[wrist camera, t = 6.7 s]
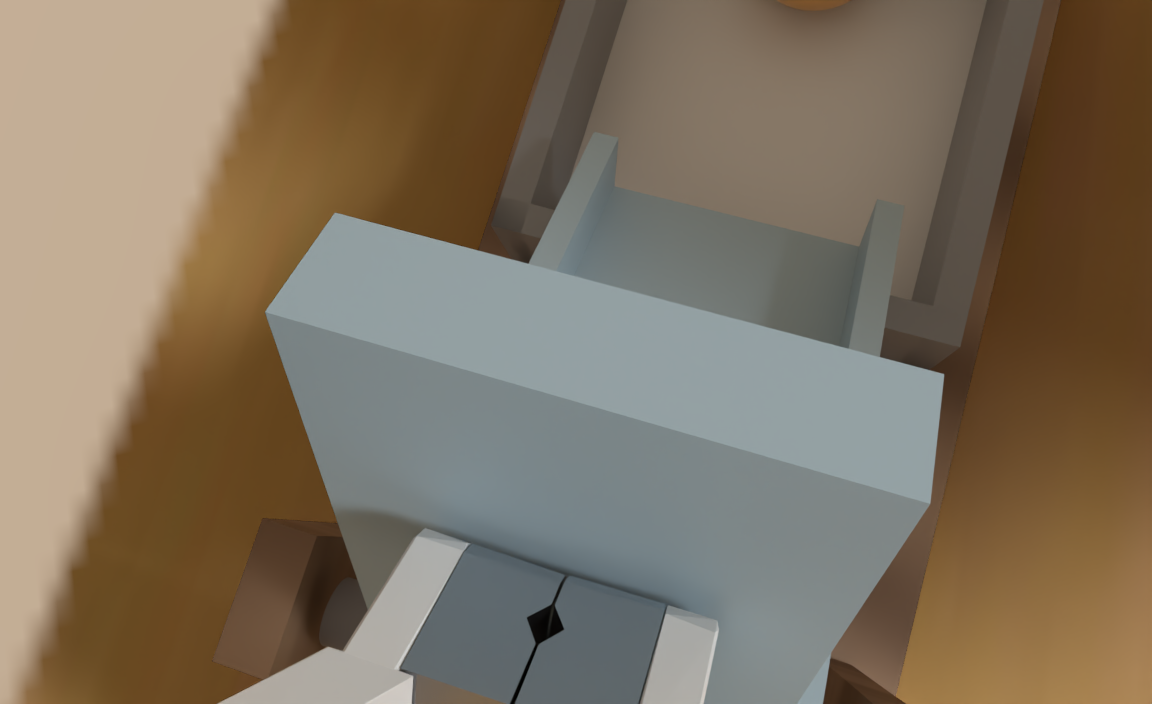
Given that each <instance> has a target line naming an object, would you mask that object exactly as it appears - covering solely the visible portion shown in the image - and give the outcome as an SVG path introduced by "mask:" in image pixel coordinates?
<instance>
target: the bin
mask: <svg viewBox="0 0 1152 704" xmlns="http://www.w3.org/2000/svg"><path fill="white" fill-rule="evenodd" d="M1043 1H1044V0H851V1H849V2H847V3H846V4H843V5H841V6H838V7H835V8H832V9H828V10H821V11H805V10H799V9H795V8H792V7H789V6H786V5H784V4H782V3H780V2H778V1H777V0H565V4H564V7H563V10H562V13H561V16H560V19H559V22H558V25H557V28H556V31H555V34H554V37H553V40H552V43H551V46H550V49H549V52H548V55H547V58H546V61H545V64H544V67H543V70H542V73H541V76H540V79H539V82H538V85H537V88H536V91H535V94H534V97H533V100H532V103H531V106H530V109H529V112H528V115H527V118H526V121H525V124H524V127H523V130H522V133H521V136H520V139H519V142H518V145H517V148H516V151H515V154H514V157H513V160H512V163H511V166H510V169H509V172H508V175H507V178H506V181H505V184H504V187H503V191H502V194H501V197H500V200H499V203H498V206H497V209H496V212H495V215H494V218H493V221H492V224H491V226H492V228H493V230H494V231H495V233H496V234H497V236H498V238H499V239H500V241H501V243H502V244H503V246H504V247H505V249H506V251H507V252H508V254H509V256H510V257H511V259H512V260H516V261H519V262H523V263H527V264H529V262H530V260H531V258H532V256H533V254H534V252H535V250H536V248H537V246H538V244H539V242H540V240H541V238H542V236H543V234H544V231H545V229H546V227H547V225H548V223H549V221H550V219H551V217H552V215H553V213H554V211H555V209H556V207H557V205H558V203H559V201H560V199H561V197H562V195H563V193H564V191H565V189H566V187H567V185H568V183H569V181H570V179H571V177H572V175H573V173H574V171H575V169H576V167H577V165H578V163H579V161H580V159H581V157H582V155H583V153H584V151H585V149H586V147H587V145H588V143H589V141H590V139H591V137H592V135H593V133H594V132H597V133H601V134H605V135H610V136H614V137H618V138H619V139H618V151H617V162H616V174H615V185H614V186H616V187H620V188H624V189H628V190H632V191H636V192H640V193H644V194H648V195H652V196H656V197H660V198H664V199H668V200H672V201H676V202H680V203H684V204H689V205H693V206H697V207H701V208H705V209H709V210H713V211H717V212H721V213H725V214H729V215H733V216H737V217H741V218H745V219H749V220H753V221H757V222H761V223H766V224H770V225H774V226H778V227H782V228H786V229H790V230H794V231H798V232H802V233H806V234H810V235H814V236H818V237H822V238H826V239H830V240H834V241H838V242H843V243H847V244H851V245H855V246H860V243H861V241H862V238H863V235H864V233H865V230H866V227H867V225H868V222H869V220H870V217H871V214H872V212H873V209H874V206H875V204H876V201H877V199H879V200H883V201H887V202H892V203H896V204H900V205H904V212H903V218H902V224H901V230H900V236H899V242H898V248H897V255H896V261H895V267H894V273H893V279H892V285H891V291H890V297H889V303H888V309H887V316H886V322H885V328H884V334H883V340H882V346H881V352H880V357H881V358H885V359H889V360H893V361H896V362H900V363H904V364H908V365H912V366H915V367H919V368H923V369H927V370H930V369H931V368H933V367H934V366H936V365H937V364H938V363H940V362H941V361H942V360H944V359H945V358H946V357H948V356H949V355H950V354H952V353H953V352H954V351H956V350H957V349H959V348H960V346H961V342H962V338H963V334H964V329H965V325H966V321H967V317H968V313H969V309H970V304H971V300H972V296H973V292H974V288H975V284H976V280H977V275H978V271H979V267H980V263H981V259H982V255H983V251H984V246H985V242H986V238H987V234H988V230H989V226H990V221H991V217H992V213H993V209H994V205H995V201H996V197H997V192H998V188H999V184H1000V180H1001V176H1002V172H1003V167H1004V163H1005V159H1006V155H1007V151H1008V147H1009V143H1010V138H1011V134H1012V130H1013V126H1014V122H1015V118H1016V114H1017V109H1018V105H1019V101H1020V97H1021V93H1022V89H1023V84H1024V80H1025V76H1026V72H1027V68H1028V64H1029V60H1030V55H1031V51H1032V47H1033V43H1034V39H1035V35H1036V31H1037V26H1038V22H1039V18H1040V14H1041V10H1042V6H1043Z"/></svg>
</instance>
